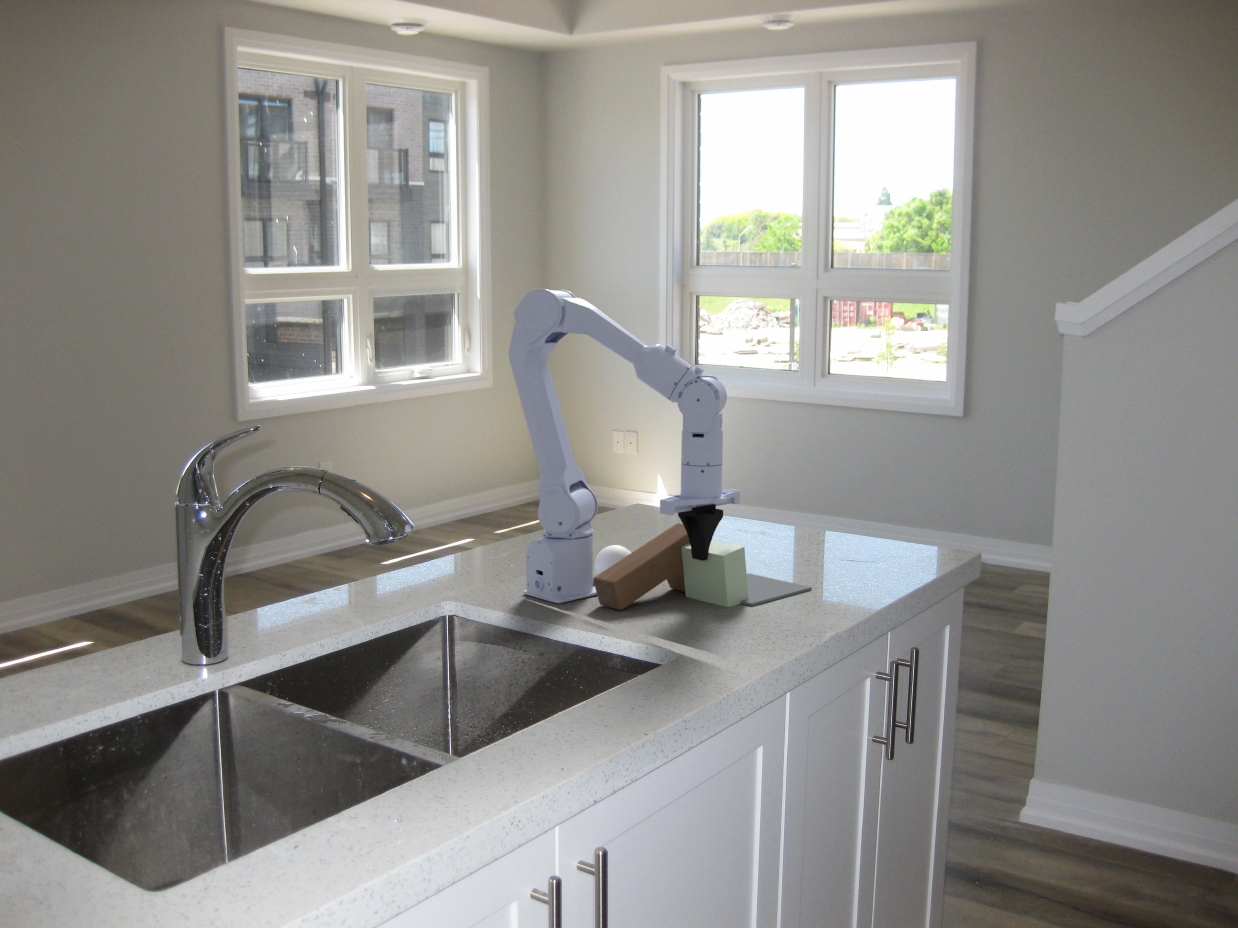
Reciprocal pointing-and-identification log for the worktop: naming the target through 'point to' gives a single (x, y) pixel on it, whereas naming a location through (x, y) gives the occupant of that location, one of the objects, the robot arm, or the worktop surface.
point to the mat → (769, 589)
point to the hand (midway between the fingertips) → (699, 559)
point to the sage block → (716, 574)
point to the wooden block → (644, 570)
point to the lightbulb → (610, 557)
